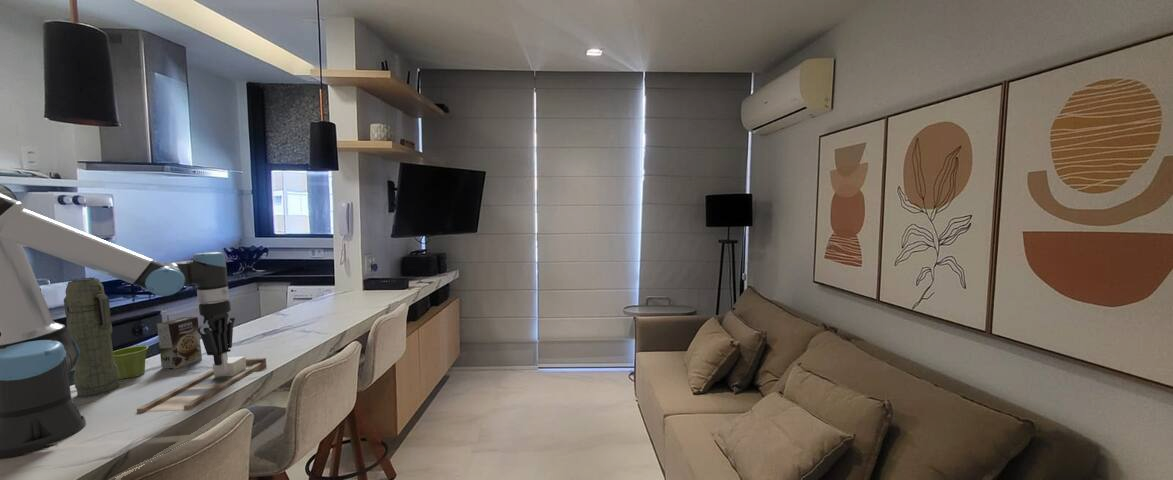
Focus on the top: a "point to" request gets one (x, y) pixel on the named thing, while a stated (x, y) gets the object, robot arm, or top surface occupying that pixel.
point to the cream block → (233, 366)
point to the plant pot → (130, 361)
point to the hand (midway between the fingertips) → (222, 373)
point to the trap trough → (199, 389)
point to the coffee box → (179, 342)
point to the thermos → (91, 337)
